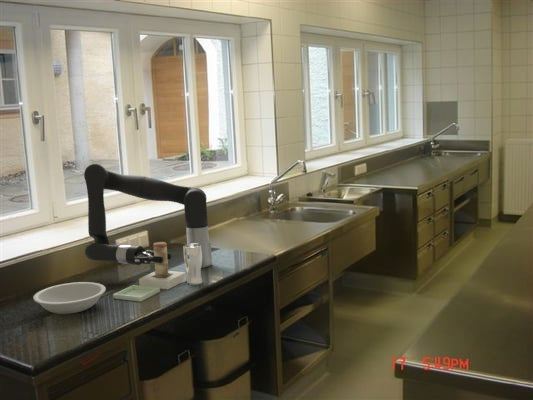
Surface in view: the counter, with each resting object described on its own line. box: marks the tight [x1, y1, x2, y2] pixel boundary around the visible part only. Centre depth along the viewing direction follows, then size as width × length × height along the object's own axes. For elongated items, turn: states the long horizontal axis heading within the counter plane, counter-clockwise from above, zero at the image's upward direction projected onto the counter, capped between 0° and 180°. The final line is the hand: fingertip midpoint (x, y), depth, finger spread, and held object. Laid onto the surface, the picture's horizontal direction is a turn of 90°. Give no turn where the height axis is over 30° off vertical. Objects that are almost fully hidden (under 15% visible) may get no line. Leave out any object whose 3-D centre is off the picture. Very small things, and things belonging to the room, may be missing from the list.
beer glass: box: [183, 243, 203, 286], centre depth 243 cm, size 7×7×15 cm
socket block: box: [138, 270, 187, 290], centre depth 244 cm, size 13×13×4 cm
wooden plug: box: [153, 241, 169, 278], centre depth 243 cm, size 5×5×14 cm
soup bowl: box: [32, 281, 107, 315], centre depth 218 cm, size 24×24×7 cm
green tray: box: [112, 284, 161, 302], centre depth 231 cm, size 12×12×2 cm
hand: (166, 258), depth 242 cm, fingers closed on wooden plug, 5 cm apart
